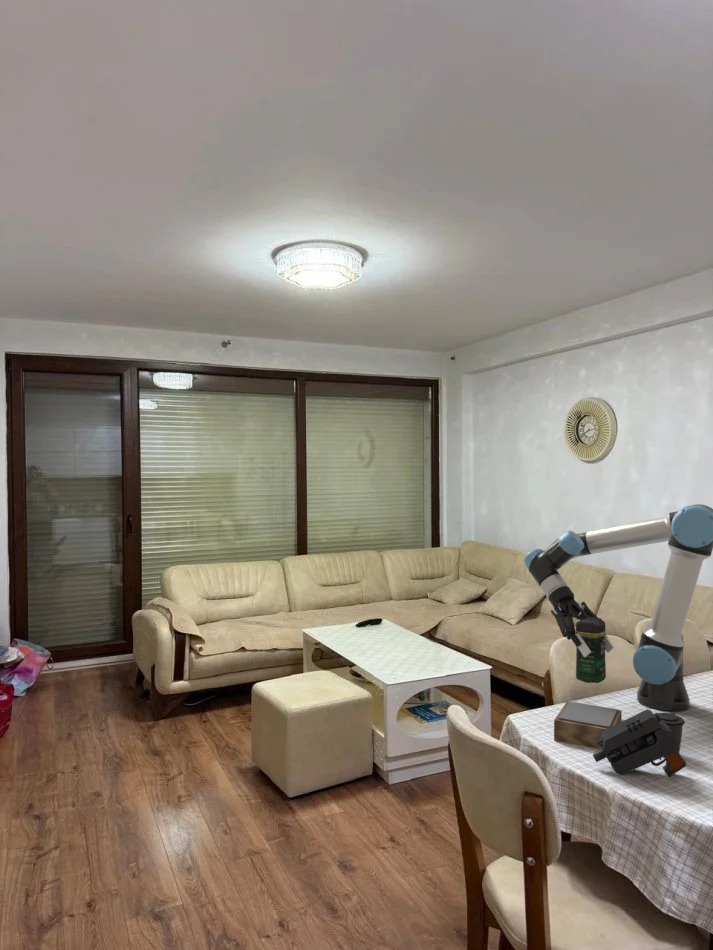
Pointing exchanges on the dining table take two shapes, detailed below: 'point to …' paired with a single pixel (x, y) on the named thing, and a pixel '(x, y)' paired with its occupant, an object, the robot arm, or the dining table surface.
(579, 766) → the dining table surface
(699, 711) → the dining table surface
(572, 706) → the wooden block
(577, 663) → the coffee jar
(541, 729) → the dining table surface
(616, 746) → the grey toy blaster gun
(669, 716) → the coffee cup
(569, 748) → the dining table surface
